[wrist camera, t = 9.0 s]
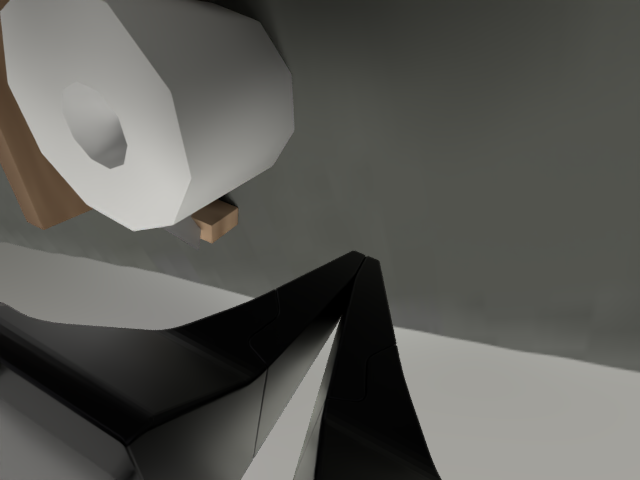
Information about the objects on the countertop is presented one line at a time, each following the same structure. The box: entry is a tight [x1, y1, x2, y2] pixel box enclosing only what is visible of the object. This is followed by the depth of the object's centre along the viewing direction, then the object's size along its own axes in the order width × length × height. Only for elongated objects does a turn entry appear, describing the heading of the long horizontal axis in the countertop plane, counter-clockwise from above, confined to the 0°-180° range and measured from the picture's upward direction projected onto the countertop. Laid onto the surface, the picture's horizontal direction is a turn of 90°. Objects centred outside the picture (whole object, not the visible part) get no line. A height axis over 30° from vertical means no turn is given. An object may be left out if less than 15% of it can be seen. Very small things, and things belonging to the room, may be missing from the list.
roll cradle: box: [0, 0, 238, 243], centre depth 17 cm, size 10×17×8 cm, turn 169°
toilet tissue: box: [0, 0, 294, 250], centre depth 17 cm, size 9×13×9 cm
